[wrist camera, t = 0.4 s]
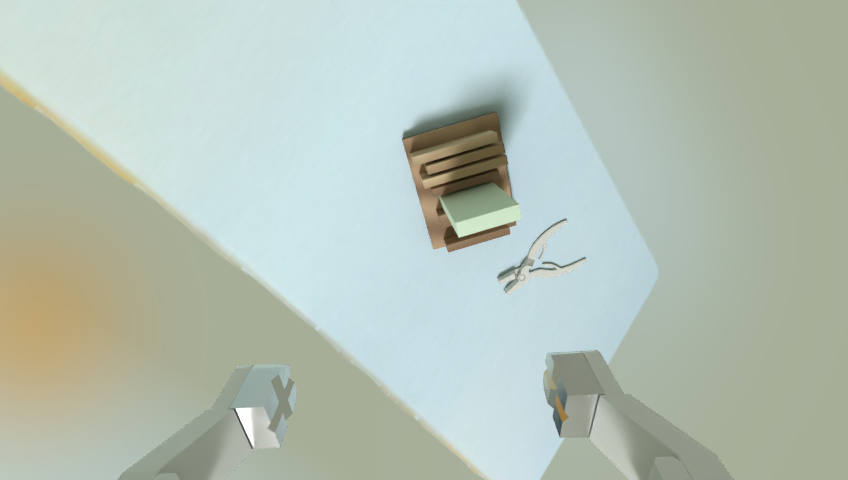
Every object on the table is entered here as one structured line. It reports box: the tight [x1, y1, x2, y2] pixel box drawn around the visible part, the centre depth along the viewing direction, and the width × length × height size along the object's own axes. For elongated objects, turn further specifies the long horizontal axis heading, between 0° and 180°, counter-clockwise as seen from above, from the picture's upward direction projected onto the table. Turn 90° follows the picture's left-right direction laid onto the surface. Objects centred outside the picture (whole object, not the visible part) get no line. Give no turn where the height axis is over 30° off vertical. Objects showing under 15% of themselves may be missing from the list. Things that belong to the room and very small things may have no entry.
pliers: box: [497, 220, 586, 295], centre depth 64 cm, size 10×2×15 cm
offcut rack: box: [402, 112, 516, 252], centre depth 54 cm, size 18×14×6 cm
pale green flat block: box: [439, 181, 521, 238], centre depth 50 cm, size 2×8×13 cm, turn 105°
